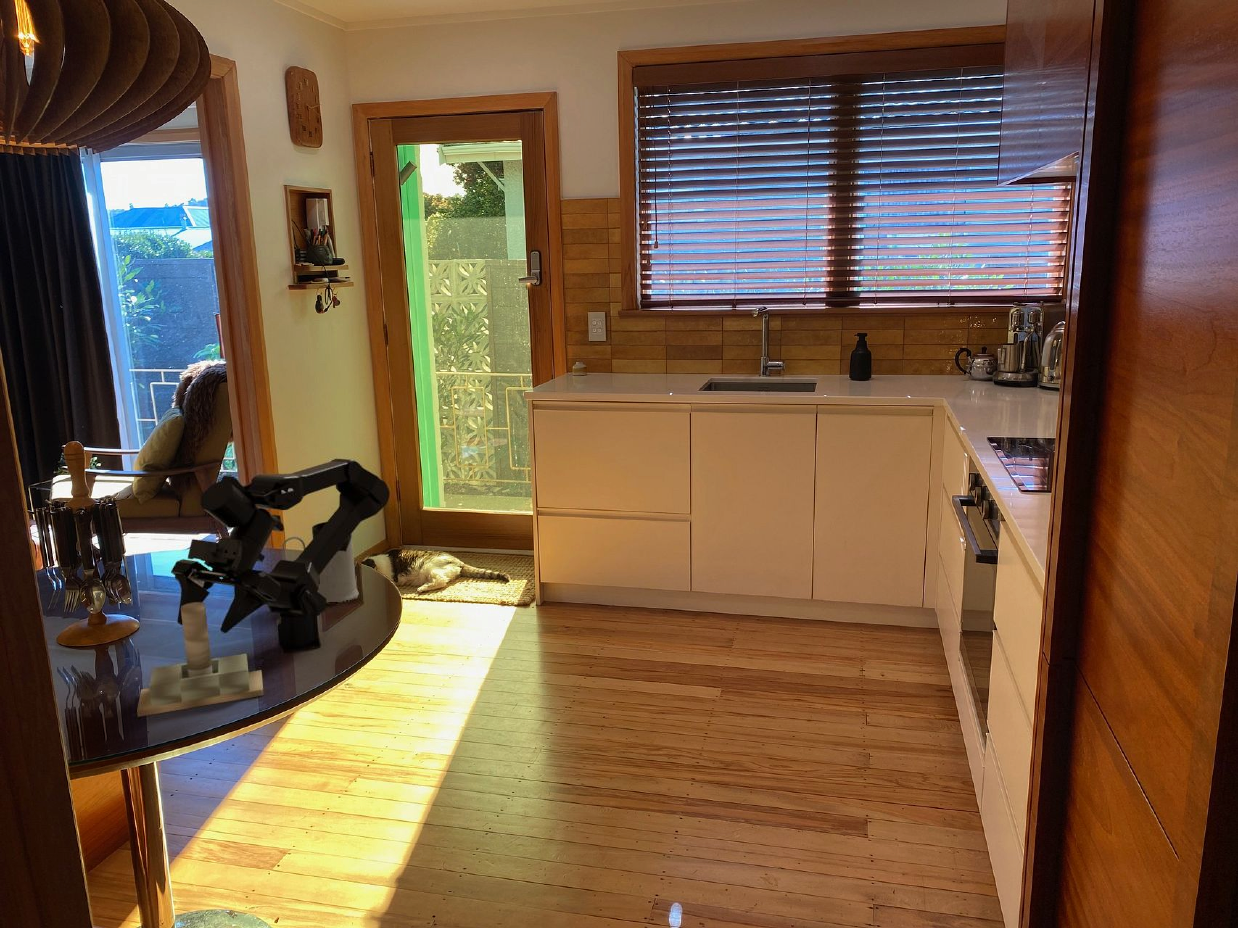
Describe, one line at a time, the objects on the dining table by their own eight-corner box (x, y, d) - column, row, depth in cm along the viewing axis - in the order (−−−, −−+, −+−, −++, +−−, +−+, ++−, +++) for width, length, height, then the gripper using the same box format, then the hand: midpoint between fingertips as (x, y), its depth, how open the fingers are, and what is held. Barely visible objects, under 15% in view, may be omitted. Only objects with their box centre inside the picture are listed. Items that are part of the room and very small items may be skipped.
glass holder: (362, 598, 194) (357, 528, 191) (290, 610, 188) (283, 537, 184) (354, 586, 201) (348, 518, 198) (284, 597, 195) (277, 527, 192)
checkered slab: (261, 675, 158) (259, 650, 157) (263, 695, 150) (260, 668, 149) (142, 695, 151) (138, 669, 150) (137, 716, 144) (134, 689, 143)
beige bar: (205, 682, 153) (195, 600, 150) (219, 687, 151) (209, 604, 148) (185, 691, 150) (175, 607, 147) (199, 695, 148) (189, 611, 145)
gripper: (173, 512, 154) (123, 598, 147) (260, 522, 147) (212, 614, 139) (216, 544, 163) (171, 627, 155) (300, 556, 156) (257, 644, 148)
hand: (201, 627), depth 149 cm, fingers open, 9 cm apart
